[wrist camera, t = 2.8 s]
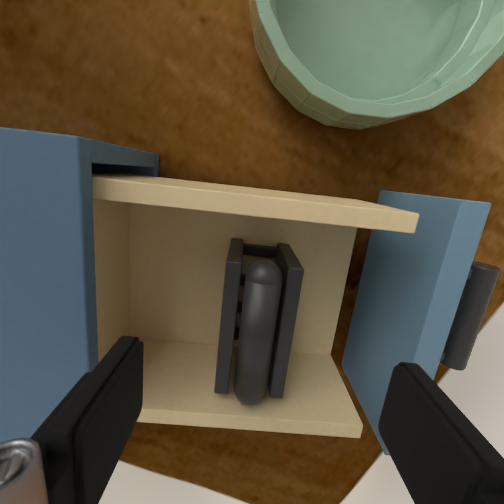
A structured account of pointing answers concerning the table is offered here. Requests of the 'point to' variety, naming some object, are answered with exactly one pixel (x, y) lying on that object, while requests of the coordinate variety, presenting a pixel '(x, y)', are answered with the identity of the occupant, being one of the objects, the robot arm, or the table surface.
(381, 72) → the bowl
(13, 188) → the cabinet
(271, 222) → the drawer
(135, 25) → the table surface
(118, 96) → the table surface
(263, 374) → the grey roller rack
